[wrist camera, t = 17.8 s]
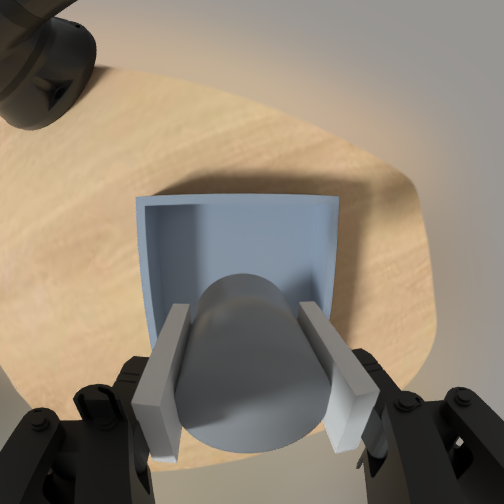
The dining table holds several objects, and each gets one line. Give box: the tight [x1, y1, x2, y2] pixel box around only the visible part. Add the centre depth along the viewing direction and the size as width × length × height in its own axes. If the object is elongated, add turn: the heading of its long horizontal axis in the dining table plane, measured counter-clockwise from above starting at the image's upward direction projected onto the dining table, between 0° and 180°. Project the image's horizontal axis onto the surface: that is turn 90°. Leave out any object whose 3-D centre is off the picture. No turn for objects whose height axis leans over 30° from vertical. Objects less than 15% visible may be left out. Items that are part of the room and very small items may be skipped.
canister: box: [174, 273, 331, 453], centre depth 11 cm, size 5×5×7 cm
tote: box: [136, 193, 339, 351], centre depth 27 cm, size 24×18×5 cm
